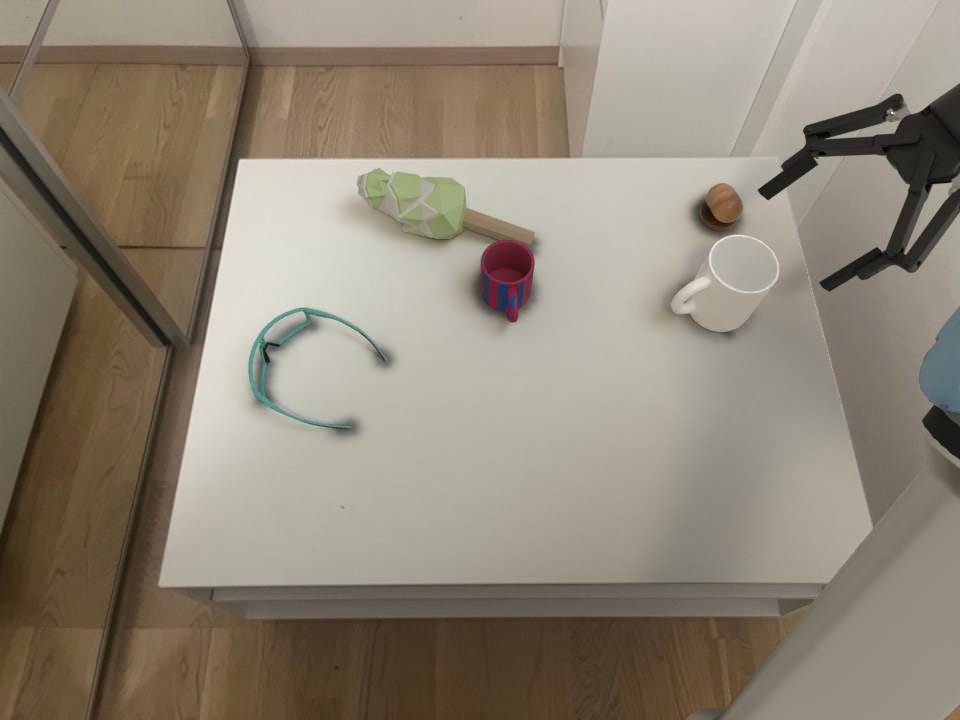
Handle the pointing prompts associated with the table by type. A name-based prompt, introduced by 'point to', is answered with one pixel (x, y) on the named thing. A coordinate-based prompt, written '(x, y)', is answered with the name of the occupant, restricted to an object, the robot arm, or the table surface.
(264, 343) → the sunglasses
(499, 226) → the decorative object
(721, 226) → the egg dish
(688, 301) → the mug
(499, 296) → the cup
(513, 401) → the table surface
